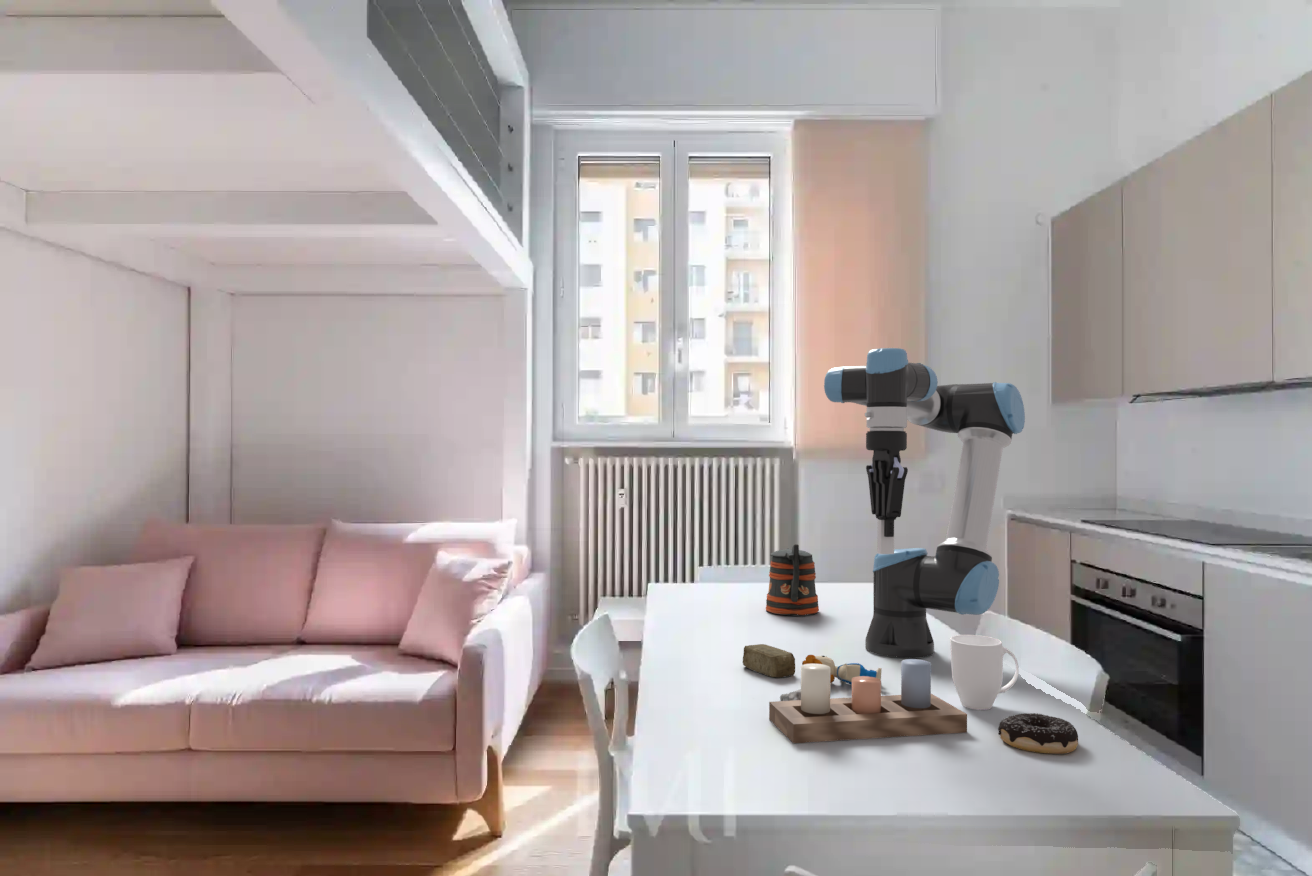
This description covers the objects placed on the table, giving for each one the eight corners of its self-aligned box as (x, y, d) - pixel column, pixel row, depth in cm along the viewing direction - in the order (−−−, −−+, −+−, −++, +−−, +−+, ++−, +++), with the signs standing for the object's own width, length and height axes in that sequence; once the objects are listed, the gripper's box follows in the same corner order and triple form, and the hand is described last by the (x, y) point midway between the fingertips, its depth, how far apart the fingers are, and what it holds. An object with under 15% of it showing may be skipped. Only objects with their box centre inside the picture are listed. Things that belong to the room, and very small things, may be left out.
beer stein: (828, 620, 233) (828, 545, 233) (773, 620, 233) (773, 545, 233) (812, 606, 252) (813, 537, 252) (762, 606, 251) (762, 537, 252)
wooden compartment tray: (930, 710, 156) (930, 693, 156) (967, 732, 144) (967, 714, 144) (769, 719, 150) (769, 701, 150) (793, 743, 138) (793, 724, 138)
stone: (761, 714, 154) (761, 690, 154) (793, 696, 164) (794, 674, 164) (794, 721, 150) (794, 698, 150) (825, 703, 160) (825, 680, 160)
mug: (958, 712, 154) (958, 643, 155) (944, 699, 163) (944, 634, 164) (1026, 713, 154) (1025, 644, 154) (1009, 700, 163) (1008, 635, 163)
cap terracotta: (873, 716, 150) (873, 675, 150) (885, 725, 145) (886, 683, 145) (846, 718, 149) (847, 676, 149) (858, 727, 144) (858, 684, 144)
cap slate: (921, 699, 151) (922, 658, 152) (936, 707, 147) (936, 665, 147) (896, 700, 151) (896, 659, 151) (909, 708, 146) (909, 666, 146)
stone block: (775, 681, 175) (775, 655, 175) (740, 668, 184) (740, 644, 184) (797, 677, 178) (797, 652, 178) (761, 664, 187) (761, 641, 188)
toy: (884, 659, 166) (804, 647, 168) (881, 692, 164) (801, 679, 166) (877, 667, 177) (802, 656, 179) (875, 698, 175) (799, 686, 177)
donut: (1087, 759, 133) (1088, 733, 133) (1005, 754, 135) (1005, 728, 135) (1067, 735, 143) (1067, 711, 143) (991, 731, 146) (991, 707, 146)
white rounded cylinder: (823, 704, 148) (823, 663, 148) (834, 713, 143) (835, 670, 143) (796, 705, 147) (796, 664, 147) (806, 714, 142) (807, 671, 142)
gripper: (853, 430, 173) (853, 549, 173) (883, 429, 160) (882, 558, 160) (889, 430, 174) (888, 549, 174) (921, 429, 161) (920, 557, 161)
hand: (885, 553), depth 167 cm, fingers closed
